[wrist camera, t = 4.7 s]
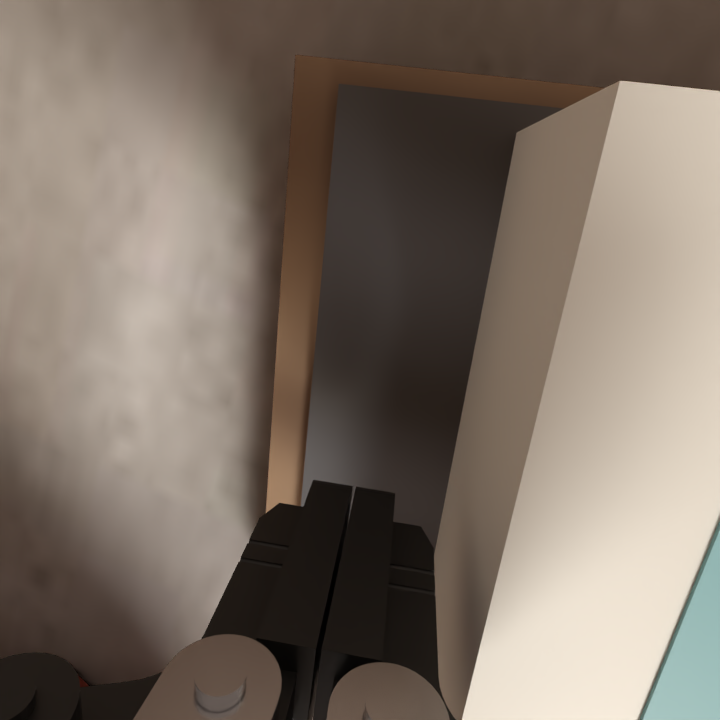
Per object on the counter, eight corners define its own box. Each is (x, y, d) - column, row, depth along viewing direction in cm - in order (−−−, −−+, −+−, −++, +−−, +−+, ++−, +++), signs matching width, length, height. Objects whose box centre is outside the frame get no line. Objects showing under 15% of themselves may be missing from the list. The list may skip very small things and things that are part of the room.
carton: (516, 132, 10) (621, 79, 5) (930, 179, 10) (1541, 177, 4) (410, 675, 15) (406, 948, 9) (687, 724, 14) (844, 1042, 9)
